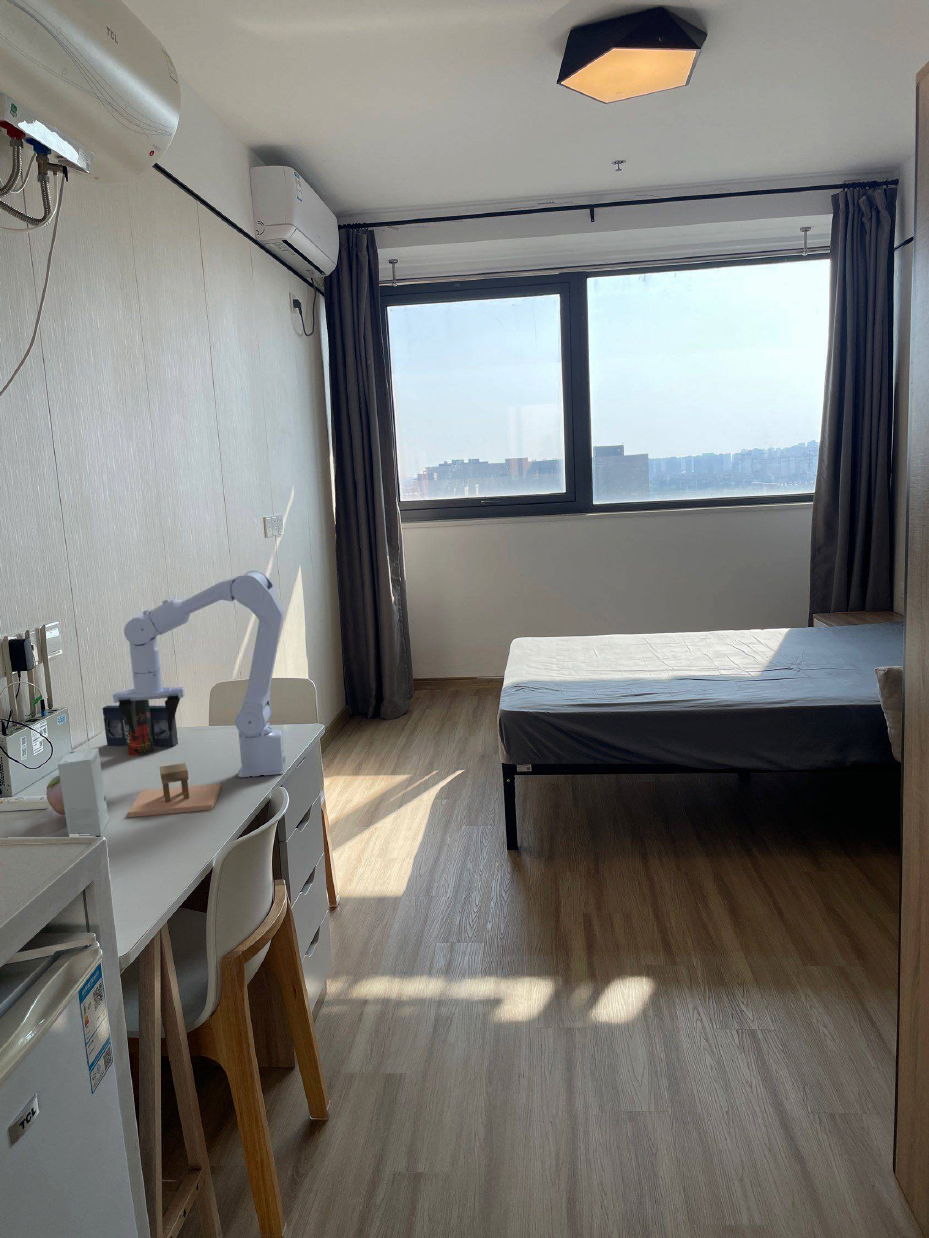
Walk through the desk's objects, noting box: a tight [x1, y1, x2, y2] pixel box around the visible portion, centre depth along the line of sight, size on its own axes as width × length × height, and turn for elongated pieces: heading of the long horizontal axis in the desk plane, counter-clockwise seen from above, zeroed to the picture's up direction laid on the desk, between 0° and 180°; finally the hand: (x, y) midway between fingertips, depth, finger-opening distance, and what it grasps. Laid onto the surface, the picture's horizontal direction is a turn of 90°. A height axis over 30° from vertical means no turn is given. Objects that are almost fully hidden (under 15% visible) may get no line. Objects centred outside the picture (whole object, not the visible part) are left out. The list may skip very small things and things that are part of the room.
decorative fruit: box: [45, 775, 65, 817], centre depth 170 cm, size 9×8×10 cm
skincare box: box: [57, 748, 110, 837], centre depth 162 cm, size 8×6×15 cm
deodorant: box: [124, 688, 155, 757], centre depth 209 cm, size 6×6×15 cm
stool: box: [159, 762, 189, 803], centre depth 176 cm, size 5×5×6 cm
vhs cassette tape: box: [102, 705, 179, 748], centre depth 215 cm, size 18×3×10 cm, turn 77°
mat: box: [127, 783, 222, 818], centre depth 176 cm, size 16×12×1 cm
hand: (153, 731), depth 190 cm, fingers open, 7 cm apart
